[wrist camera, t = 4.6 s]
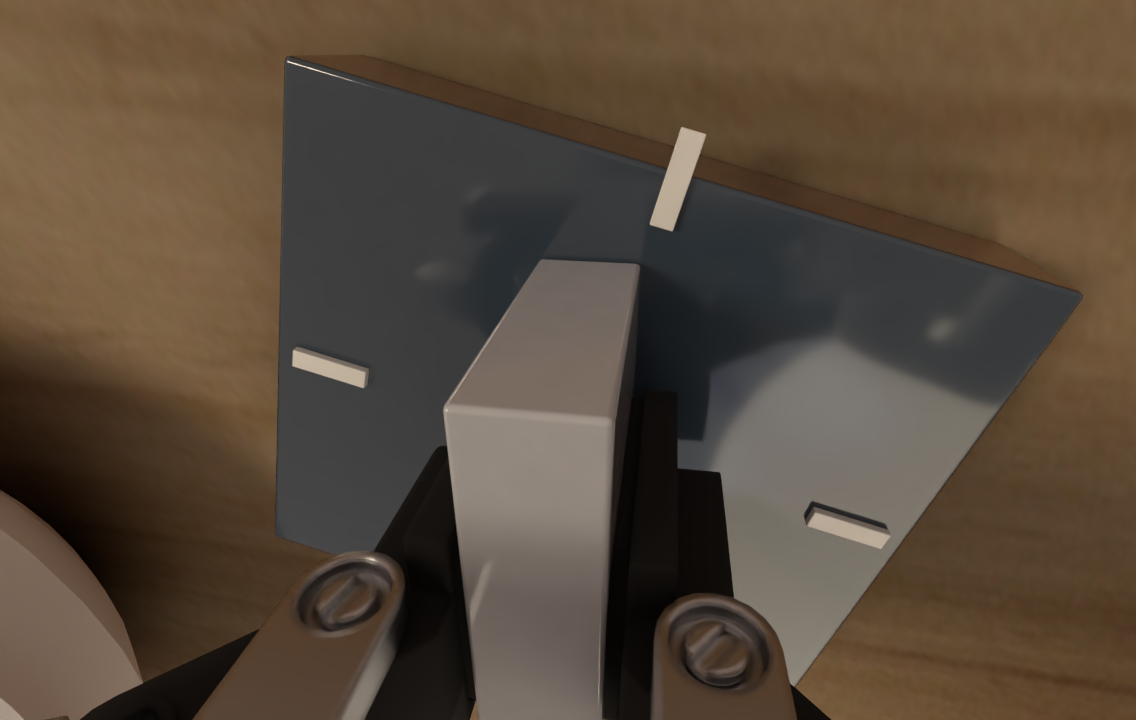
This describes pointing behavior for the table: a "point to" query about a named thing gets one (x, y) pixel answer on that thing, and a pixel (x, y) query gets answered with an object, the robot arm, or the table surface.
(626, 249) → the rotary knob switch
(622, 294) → the grey block
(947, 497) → the table surface
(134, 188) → the table surface
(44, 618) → the bowl
